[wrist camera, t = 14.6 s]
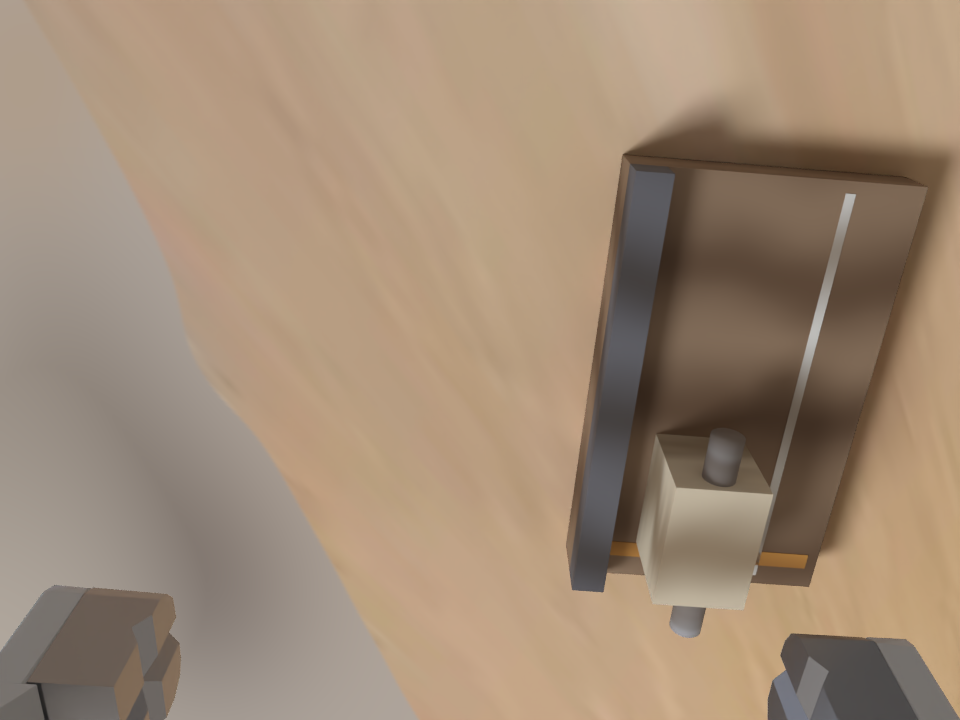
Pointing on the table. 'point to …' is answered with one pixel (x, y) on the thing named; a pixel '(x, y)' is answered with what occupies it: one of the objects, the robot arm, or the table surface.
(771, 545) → the board
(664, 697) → the table surface
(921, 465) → the table surface
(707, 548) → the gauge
